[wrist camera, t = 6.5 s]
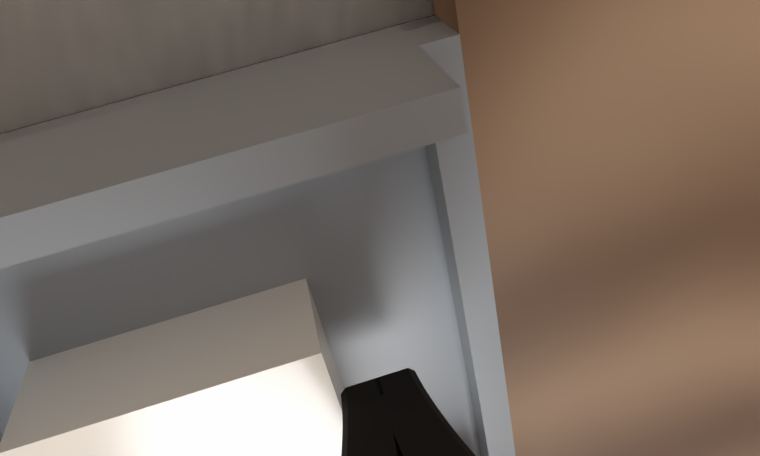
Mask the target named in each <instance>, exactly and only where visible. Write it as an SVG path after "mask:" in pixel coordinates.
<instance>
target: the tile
mask: <svg viewBox="0 0 760 456" xmlns="http://www.w3.org/2000/svg"><path fill="white" fill-rule="evenodd" d="M343 390H344V388H343V385H342V382H341V379H340V376H339V373H338V370H337V367H336V364H335V361H334V359H333V356H332V353H331V350H330V347H329V344H328V341H327V338H326V335H325V332H324V329H323V327H322V324H321V321H320V318H319V315H318V312H317V309H316V306H315V303H314V300H313V297H312V295H311V292H310V289H309V286H308V283H307V280H306V278H305V279H302V280H299V281H295V282H292V283H289V284H285V285H282V286H279V287H275V288H272V289H269V290H265V291H262V292H259V293H255V294H252V295H249V296H246V297H242V298H239V299H236V300H232V301H229V302H226V303H222V304H219V305H216V306H212V307H209V308H206V309H202V310H199V311H196V312H193V313H189V314H186V315H183V316H179V317H176V318H173V319H169V320H166V321H163V322H159V323H156V324H153V325H149V326H146V327H143V328H140V329H136V330H133V331H130V332H126V333H123V334H120V335H116V336H113V337H110V338H106V339H103V340H100V341H96V342H93V343H90V344H86V345H83V346H80V347H77V348H73V349H70V350H67V351H63V352H60V353H57V354H53V355H50V356H47V357H43V358H40V359H37V360H33V361H30V362H29V365H28V367H27V370H26V373H25V376H24V378H23V381H22V384H21V387H20V390H19V392H18V395H17V398H16V401H15V403H14V406H13V409H12V412H11V414H10V417H9V420H8V423H7V425H6V428H5V431H4V434H3V437H2V439H1V442H0V456H341V454H342V431H343V420H342V402H341V393H342V392H343Z"/></svg>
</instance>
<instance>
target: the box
mask: <svg viewBox="0 0 760 456" xmlns="http://www.w3.org/2000/svg"><path fill="white" fill-rule="evenodd" d="M305 278H306V280H307V283H308V286H309V289H310V292H311V295H312V297H313V300H314V303H315V306H316V309H317V312H318V315H319V318H320V321H321V324H322V327H323V329H324V332H325V335H326V338H327V341H328V344H329V347H330V350H331V353H332V356H333V359H334V361H335V364H336V367H337V370H338V373H339V376H340V379H341V382H342V385H343V388H344V389H345V388H346V387H349V386H352V385H355V384H358V383H362V382H365V381H368V380H371V379H374V378H377V377H381V376H384V375H387V374H390V373H393V372H396V371H400V370H403V369H406V368H410V369H412V370H414V371H415V372H416V374H417V376H418V378H419V379H420V381H421V383H422V385H423V386H424V388H425V390H426V391H427V393H428V394H429V396H430V397H431V399H432V400H433V402H434V403H435V405H436V406H437V408H438V409H439V410H440V412H441V413H442V414H443V416H444V417H445V418H446V420H447V421H448V423H449V424H450V425H451V426H452V428H453V429H454V430H455V432H456V433H457V434H458V435H459V437H460V438H461V439H462V440H463V441H464V443H465V444H466V445H467V446H468V447H469V448H470V450H471V451H472V452H473V453H474V454H475V456H516V455H515V447H514V440H513V432H512V425H511V417H510V409H509V402H508V394H507V387H506V379H505V372H504V364H503V357H502V349H501V342H500V334H499V327H498V319H497V312H496V304H495V297H494V289H493V282H492V274H491V267H490V259H489V252H488V244H487V236H486V229H485V221H484V214H483V206H482V199H481V191H480V184H479V176H478V169H477V161H476V154H475V146H474V139H473V131H472V124H471V116H470V109H469V101H468V94H467V86H466V78H465V71H464V63H463V56H462V48H461V41H460V34H458V33H457V32H456V31H455V30H453V29H452V28H451V27H449V26H448V25H447V24H446V23H444V22H443V21H442V20H441V19H439V18H438V17H437V16H435V15H433V16H430V17H426V18H422V19H419V20H415V21H411V22H408V23H404V24H401V25H397V26H393V27H390V28H386V29H382V30H379V31H375V32H371V33H368V34H364V35H360V36H357V37H353V38H349V39H346V40H342V41H338V42H335V43H331V44H327V45H324V46H320V47H317V48H313V49H309V50H306V51H302V52H298V53H295V54H291V55H287V56H284V57H280V58H276V59H273V60H269V61H265V62H262V63H258V64H254V65H251V66H247V67H243V68H240V69H236V70H233V71H229V72H225V73H222V74H218V75H214V76H211V77H207V78H203V79H200V80H196V81H192V82H189V83H185V84H181V85H178V86H174V87H170V88H167V89H163V90H160V91H156V92H152V93H149V94H145V95H141V96H138V97H134V98H130V99H127V100H123V101H119V102H116V103H112V104H108V105H105V106H101V107H97V108H94V109H90V110H86V111H83V112H79V113H76V114H72V115H68V116H65V117H61V118H57V119H54V120H50V121H46V122H43V123H39V124H35V125H32V126H28V127H24V128H21V129H17V130H13V131H10V132H6V133H2V134H0V442H1V439H2V437H3V434H4V431H5V428H6V425H7V423H8V420H9V417H10V414H11V412H12V409H13V406H14V403H15V401H16V398H17V395H18V392H19V390H20V387H21V384H22V381H23V378H24V376H25V373H26V370H27V367H28V365H29V362H30V361H33V360H37V359H40V358H43V357H47V356H50V355H53V354H57V353H60V352H63V351H67V350H70V349H73V348H77V347H80V346H83V345H86V344H90V343H93V342H96V341H100V340H103V339H106V338H110V337H113V336H116V335H120V334H123V333H126V332H130V331H133V330H136V329H140V328H143V327H146V326H149V325H153V324H156V323H159V322H163V321H166V320H169V319H173V318H176V317H179V316H183V315H186V314H189V313H193V312H196V311H199V310H202V309H206V308H209V307H212V306H216V305H219V304H222V303H226V302H229V301H232V300H236V299H239V298H242V297H246V296H249V295H252V294H255V293H259V292H262V291H265V290H269V289H272V288H275V287H279V286H282V285H285V284H289V283H292V282H295V281H299V280H302V279H305Z"/></svg>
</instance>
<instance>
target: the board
mask: <svg viewBox="0 0 760 456" xmlns="http://www.w3.org/2000/svg"><path fill="white" fill-rule="evenodd" d="M433 6H434V13H435V16H437V17H438V18H439V19H441V20H442V21H443V22H444V23H446V24H447V25H448V26H449V27H451V28H452V29H453V30H455V31H456V32H457V33H458V34H460V41H461V48H462V56H463V63H464V71H465V78H466V86H467V94H468V101H469V109H470V116H471V124H472V131H473V139H474V146H475V154H476V161H477V169H478V176H479V184H480V191H481V199H482V206H483V214H484V221H485V229H486V236H487V244H488V252H489V259H490V267H491V274H492V282H493V289H494V297H495V304H496V312H497V319H498V327H499V334H500V342H501V349H502V357H503V364H504V372H505V379H506V387H507V394H508V402H509V409H510V417H511V425H512V432H513V440H514V447H515V455H516V456H760V0H433Z"/></svg>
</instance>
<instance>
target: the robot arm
mask: <svg viewBox="0 0 760 456" xmlns="http://www.w3.org/2000/svg"><path fill="white" fill-rule="evenodd" d="M341 402H342V420H343V431H342V454H341V456H475V454H474V453H473V452H472V451H471V450H470V448H469V447H468V446H467V445H466V444H465V443H464V441H463V440H462V439H461V438H460V437H459V435H458V434H457V433H456V432H455V430H454V429H453V428H452V426H451V425H450V424H449V423H448V421H447V420H446V418H445V417H444V416H443V414H442V413H441V412H440V410H439V409H438V408H437V406H436V405H435V403H434V402H433V400H432V399H431V397H430V396H429V394H428V393H427V391H426V390H425V388H424V386H423V385H422V383H421V381H420V379H419V378H418V376H417V374H416V372H415V371H414V370H412V369H410V368H406V369H403V370H400V371H396V372H393V373H390V374H387V375H384V376H381V377H377V378H374V379H371V380H368V381H365V382H362V383H358V384H355V385H352V386H349V387H346V388H345V389H344V390H343V392H342V393H341Z"/></svg>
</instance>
